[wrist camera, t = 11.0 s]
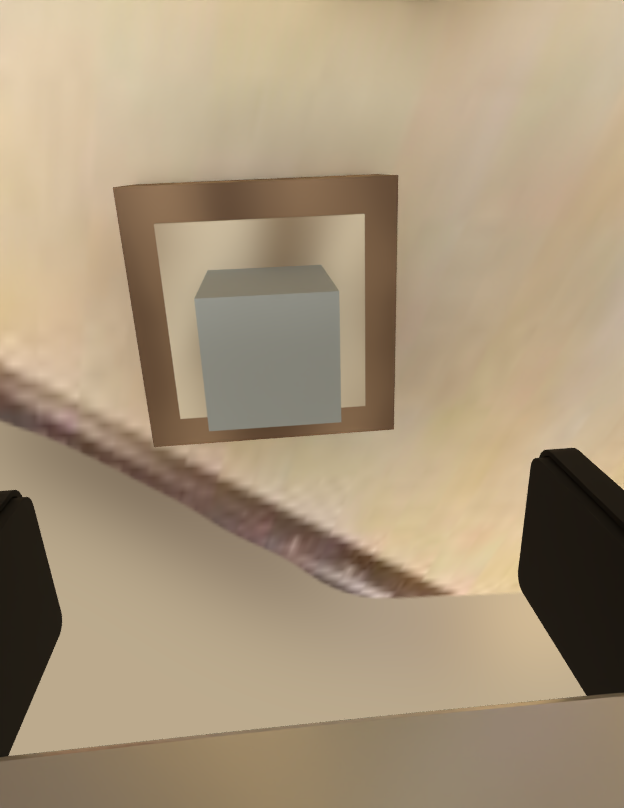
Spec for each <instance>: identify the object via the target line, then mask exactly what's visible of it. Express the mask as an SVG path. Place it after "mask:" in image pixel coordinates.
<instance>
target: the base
mask: <svg viewBox="0 0 624 808" xmlns="http://www.w3.org/2000/svg"><path fill="white" fill-rule="evenodd" d="M113 191H114V198H115V204H116V210H117V216H118V223H119V229H120V235H121V242H122V248H123V254H124V260H125V267H126V273H127V279H128V286H129V292H130V298H131V305H132V311H133V317H134V323H135V330H136V336H137V342H138V349H139V355H140V361H141V367H142V374H143V380H144V386H145V393H146V399H147V405H148V412H149V418H150V424H151V430H152V437H153V443H154V447H161V446H174V445H188V444H201V443H215V442H228V441H242V440H256V439H269V438H283V437H296V436H310V435H323V434H337V433H350V432H364V431H378V430H391V429H394V388H395V330H396V272H397V213H398V175H380V174H371V175H347V176H324V177H301V178H277V179H254V180H230V181H207V182H183V183H160V184H137V185H129V186H121V187H113ZM306 265H322V267H323V268H324V270H325V271H326V273H327V274H328V276H329V277H330V278H331V280H332V281H333V283H334V284H335V286H336V287H337V289H338V290H339V306H340V369H341V422H338V423H323V424H308V425H294V426H279V427H264V428H250V429H235V430H220V431H209V426H208V417H207V408H206V399H205V390H204V382H203V373H202V364H201V355H200V346H199V337H198V328H197V319H196V310H195V301H194V298H195V296H196V294H197V292H198V290H199V288H200V285H201V283H202V281H203V279H204V277H205V275H206V273H207V271H208V270H224V269H245V268H265V267H286V266H306Z"/></svg>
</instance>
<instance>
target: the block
mask: <svg viewBox="0 0 624 808" xmlns="http://www.w3.org/2000/svg"><path fill="white" fill-rule="evenodd" d="M194 301H195V310H196V319H197V328H198V337H199V346H200V355H201V364H202V373H203V382H204V390H205V399H206V408H207V417H208V426H209V431H220V430H235V429H250V428H264V427H279V426H294V425H308V424H323V423H338V422H341V369H340V306H339V290H338V289H337V287H336V286H335V284H334V283H333V281H332V280H331V278H330V277H329V276H328V274H327V273H326V271H325V270H324V268H323V267H322V265H306V266H286V267H265V268H245V269H224V270H208V271H207V273H206V275H205V277H204V279H203V281H202V283H201V285H200V288H199V290H198V292H197V294H196V296H195V298H194Z"/></svg>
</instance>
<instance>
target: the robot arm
mask: <svg viewBox="0 0 624 808" xmlns="http://www.w3.org/2000/svg"><path fill="white" fill-rule="evenodd" d="M518 580H519V584H520V588H521V590H522V592H523V594H524V595H525V597H526V599H527V600H528V602H529V604H530V605H531V607H532V608H533V610H534V612H535V613H536V615H537V616H538V618H539V620H540V621H541V623H542V624H543V626H544V628H545V629H546V631H547V632H548V634H549V636H550V637H551V639H552V640H553V642H554V644H555V645H556V647H557V648H558V650H559V652H560V653H561V655H562V657H563V658H564V660H565V662H566V663H567V665H568V666H569V668H570V670H571V671H572V673H573V674H574V676H575V678H576V679H577V681H578V682H579V684H580V686H581V687H582V689H583V691H584V692H585V694H586V695H587V696H580V697H570V698H559V699H549V700H539V701H529V702H518V703H509V704H498V705H487V706H478V707H467V708H458V709H447V710H436V711H426V712H416V713H408V714H407V713H406V714H398V715H387V716H377V717H367V718H358V719H348V720H339V721H329V722H319V723H310V724H300V725H291V726H281V727H272V728H262V729H252V730H243V731H233V732H224V733H214V734H206V735H196V736H187V737H178V738H169V739H160V740H151V741H142V742H133V743H124V744H114V745H105V746H97V747H87V748H78V749H69V750H61V751H51V752H42V753H33V754H24V755H15V756H8V755H9V752H10V750H11V748H12V745H13V743H14V741H15V738H16V736H17V734H18V731H19V729H20V727H21V724H22V722H23V720H24V717H25V715H26V713H27V710H28V708H29V706H30V703H31V701H32V699H33V696H34V694H35V692H36V689H37V687H38V685H39V682H40V680H41V677H42V675H43V673H44V670H45V668H46V666H47V663H48V661H49V659H50V656H51V654H52V652H53V649H54V647H55V644H56V642H57V640H58V637H59V635H60V632H61V626H62V614H61V610H60V606H59V602H58V598H57V594H56V590H55V587H54V583H53V579H52V575H51V571H50V568H49V564H48V560H47V556H46V552H45V549H44V544H43V541H42V537H41V533H40V529H39V525H38V521H37V518H36V514H35V510H34V506H33V503H32V501H31V499H30V498H28V497H22V495H21V494H20V492H19V491H17V490H10V491H0V808H624V490H623V489H622V488H621V487H620V486H618V485H617V484H616V483H615V482H614V481H613V480H612V479H611V478H609V477H608V476H607V475H606V474H605V473H604V472H603V471H601V470H600V469H599V468H598V467H597V466H596V465H595V464H594V463H592V462H591V461H590V460H589V459H588V458H587V457H586V456H584V455H583V454H582V453H581V452H580V451H579V450H577V449H576V448H565V449H552V450H544V451H543V452H542V453H541V454H540V457H539V458H535V459H533V461H532V463H531V469H530V477H529V485H528V494H527V502H526V510H525V519H524V527H523V535H522V543H521V552H520V560H519V568H518Z"/></svg>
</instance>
